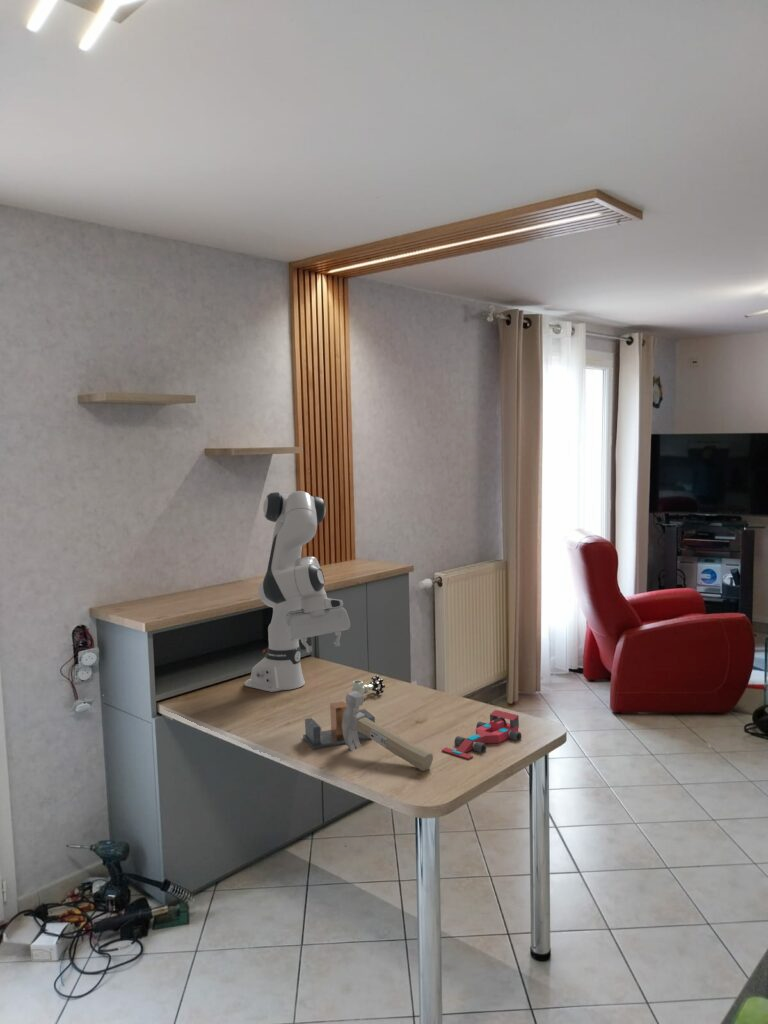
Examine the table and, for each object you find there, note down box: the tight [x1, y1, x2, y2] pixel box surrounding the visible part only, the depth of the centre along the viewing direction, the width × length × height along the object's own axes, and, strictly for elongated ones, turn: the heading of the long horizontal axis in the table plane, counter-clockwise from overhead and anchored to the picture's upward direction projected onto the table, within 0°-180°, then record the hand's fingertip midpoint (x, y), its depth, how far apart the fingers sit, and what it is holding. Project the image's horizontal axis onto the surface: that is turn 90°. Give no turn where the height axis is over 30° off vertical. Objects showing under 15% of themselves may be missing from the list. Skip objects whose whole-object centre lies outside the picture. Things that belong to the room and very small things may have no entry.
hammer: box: [342, 690, 434, 772], centre depth 211 cm, size 16×5×30 cm
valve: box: [351, 674, 386, 698], centre depth 264 cm, size 7×7×12 cm
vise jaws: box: [302, 708, 376, 750], centre depth 227 cm, size 10×20×6 cm, turn 113°
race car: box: [441, 709, 522, 760], centre depth 220 cm, size 14×6×25 cm
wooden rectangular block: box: [329, 701, 347, 738], centre depth 227 cm, size 5×4×9 cm
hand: (323, 649), depth 245 cm, fingers open, 8 cm apart
